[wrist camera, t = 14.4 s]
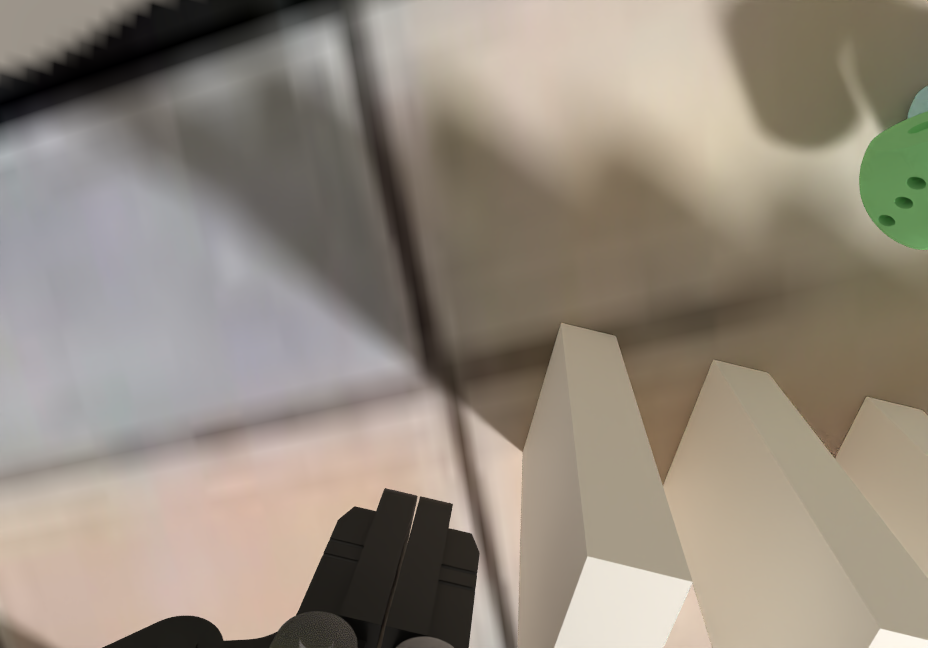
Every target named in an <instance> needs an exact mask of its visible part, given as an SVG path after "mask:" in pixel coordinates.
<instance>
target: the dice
mask: <svg viewBox="0 0 928 648" xmlns="http://www.w3.org/2000/svg"><path fill="white" fill-rule="evenodd" d="M859 186H860V194H861V198H862V202H863V204H864V207H865V209H866V211H867V213H868V215H869V216H870V218H871V219H872V221H873V222H874V223H875V224H876V226H877V227H878V228H879V229H880V230H881V231H882V232H883V233H885V234H886V235H887V236H888V237H890V238H891V239H893V240H894V241H896V242H898V243H900V244H902V245H905V246H907V247H910V248H913V249H919V250H928V86H926V87H925V88H923V89H922V90H921V91H919V92H918V93H917V95H916V96H915V98H914V100H913V102H912V104H911V107H910V109H909V112H908V119H906V120H904V121H902V122H900V123H898V124H896V125H894V126H892V127H890V128H888V129H887V130H885V131H883V132H882V133H880V134H879V135H878V136H876V137H875V138H874V139H873V140H872V141H871V143H870V144H869V146H868V148H867V150H866V152H865V155H864V157H863V160H862V164H861V168H860V176H859Z"/></svg>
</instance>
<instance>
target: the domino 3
mask: <svg viewBox="0 0 928 648" xmlns="http://www.w3.org/2000/svg"><path fill="white" fill-rule="evenodd" d="M835 460H836V461H837V462H838V463H839V465H840V466H841V467H842V469H843V470H844V471H845V472H846V474H847V475H848V476H849V478H850V479H851V480H852V481H853V483H854V484H855V485H856V487H857V488H858V489H859V490H860V492H861V493H862V494H863V496H864V497H865V498H866V500H867V501H868V502H869V503H870V505H871V506H872V507H873V509H874V510H875V511H876V512H877V514H878V515H879V516H880V518H881V519H882V520H883V521H884V523H885V524H886V525H887V527H888V528H889V529H890V530H891V532H892V533H893V534H894V536H895V537H896V538H897V540H898V541H899V542H900V543H901V545H902V546H903V547H904V549H905V550H906V551H907V552H908V554H909V555H910V556H911V558H912V559H913V560H914V561H915V563H916V564H917V565H918V567H919V568H920V569H921V570H922V572H923V573H924V574H925V576H926V577H927V578H928V415H927V414H926V413H925V412H924V411H922V410H920V409H916V408H912V407H908V406H904V405H900V404H895V403H891V402H887V401H883V400H879V399H875V398H871V397H866V398H865V400H864V402H863V404H862V406H861V408H860V410H859V412H858V414H857V416H856V418H855V420H854V422H853V424H852V426H851V428H850V430H849V432H848V434H847V436H846V438H845V440H844V442H843V443H842V445H841V447H840V449H839V451H838V453H837V455H836V457H835Z"/></svg>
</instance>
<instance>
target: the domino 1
mask: <svg viewBox="0 0 928 648" xmlns="http://www.w3.org/2000/svg"><path fill="white" fill-rule="evenodd" d="M692 583H693V581H692V578H691V575H690V571H689V568H688V565H687V562H686V559H685V555H684V552H683V549H682V546H681V543H680V539H679V536H678V533H677V530H676V527H675V523H674V520H673V517H672V514H671V511H670V507H669V504H668V501H667V498H666V495H665V492H664V488H663V485H662V482H661V479H660V476H659V472H658V469H657V466H656V463H655V460H654V456H653V453H652V450H651V447H650V444H649V440H648V437H647V434H646V431H645V428H644V424H643V421H642V418H641V415H640V412H639V408H638V405H637V402H636V399H635V396H634V393H633V389H632V386H631V383H630V380H629V377H628V373H627V370H626V367H625V364H624V361H623V357H622V354H621V351H620V348H619V345H618V341H617V338H616V336H614V335H610V334H606V333H602V332H598V331H593V330H589V329H585V328H581V327H577V326H573V325H569V324H564V323H561V325H560V328H559V331H558V335H557V338H556V342H555V345H554V348H553V352H552V355H551V358H550V362H549V365H548V369H547V372H546V375H545V379H544V382H543V386H542V389H541V392H540V396H539V399H538V402H537V406H536V409H535V413H534V416H533V419H532V423H531V426H530V429H529V433H528V436H527V440H526V443H525V446H524V450H523V458H522V496H521V535H520V573H519V611H518V648H664V645H665V643H666V641H667V639H668V636H669V634H670V632H671V630H672V627H673V625H674V623H675V621H676V619H677V616H678V614H679V612H680V610H681V607H682V605H683V603H684V601H685V598H686V596H687V594H688V592H689V590H690V587H691V585H692Z"/></svg>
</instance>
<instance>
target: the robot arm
mask: <svg viewBox="0 0 928 648" xmlns="http://www.w3.org/2000/svg"><path fill="white" fill-rule="evenodd" d="M416 502H417V496H416V495H412V494H408V493H403V492H399V491H395V490H390V489H386V488H385V489H384V491H383V494H382V497H381V500H380V502H379V505H378V508H377V511H372V510H368V509H364V508H360V507H353V508H352V509H351V510H350V511H348V512H347V513H346V514H345V515H343V516H342V517H341V518H340V519H339V520H338V521H337V524H336V526H335V528H334V531H333V533H332V535H331V537H330V541H329V542H328V544H327V547H326V549H325V551H324V554H323V556H322V558H321V560H320V563H319V565H318V567H317V570H316V572H315V574H314V576H313V579H312V581H311V583H310V586H309V588H308V590H307V592H306V595H305V597H304V599H303V602H302V604H301V606H300V608H299V611H298V612H297V614H296V616H294V617H292V618H291V619H289V620H288V621H286V622H285V623H284V624H283V625H282V626H281V628H280V629H279V631H278V632H276V633H274V634H271V635H269V636H266V637H262V638H258V639H249V640H231V641H223V638H222V635H221V633H220V631H219V629H218V628H217V627H216V626H215V625H214V624H212V623H211V622H209V621H207V620H205V619H203V618H199V617H195V616H176V617H171V618H167V619H164V620H162V621H159V622H157V623H155V624H153V625H150V626H148V627H146V628H144V629H142V630H140V631H137V632H135V633H133V634H131V635H129V636H127V637H125V638H122V639H120V640H118V641H116V642H114V643H112V644H109V645H107V646H105V647H103V648H469V639H470V631H471V622H472V613H473V605H474V596H475V587H476V579H477V570H478V561H479V550H478V548H477V545H476V543H475V541H474V538H473V536H472V534H471V533H467V532H462V531H458V530H454V529H450V528H448V527H449V522H450V517H451V511H452V506H453V504H451V503H447V502H442V501H438V500H434V499H430V498H425V497H421V496H420V499H419V503H418V507H417V510H416V514H415V518H414V522H413V525H412V520H413V516H414V511H415V506H416ZM411 525H412V529H411ZM410 530H411V533H410ZM409 534H410V536H409ZM408 539H409V540H408Z"/></svg>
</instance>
